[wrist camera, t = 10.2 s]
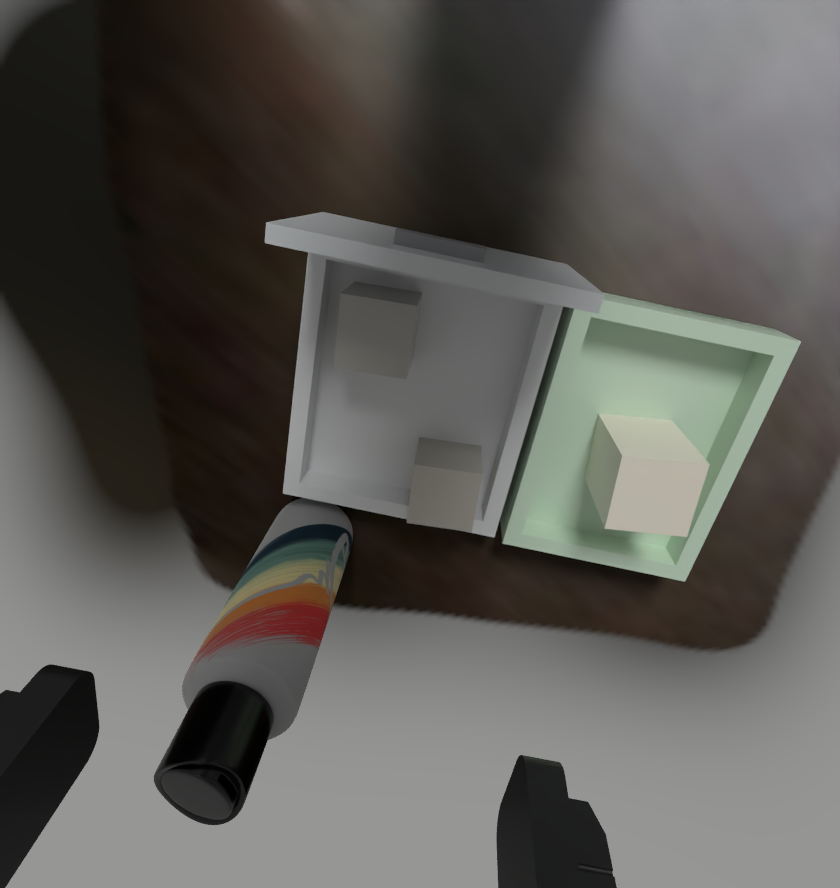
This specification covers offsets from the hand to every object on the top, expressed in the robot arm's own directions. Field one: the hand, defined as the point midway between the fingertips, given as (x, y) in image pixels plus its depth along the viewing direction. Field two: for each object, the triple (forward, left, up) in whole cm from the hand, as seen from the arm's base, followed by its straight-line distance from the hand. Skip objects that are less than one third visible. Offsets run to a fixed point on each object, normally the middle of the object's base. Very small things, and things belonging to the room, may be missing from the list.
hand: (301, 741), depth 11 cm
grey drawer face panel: (-7, 0, -27) cm, 28 cm away
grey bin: (+2, 0, -27) cm, 27 cm away
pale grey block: (+7, +3, -26) cm, 27 cm away
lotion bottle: (+14, -5, -27) cm, 31 cm away
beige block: (+3, +14, -26) cm, 30 cm away
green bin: (+2, +14, -27) cm, 30 cm away
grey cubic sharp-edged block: (-2, -2, -26) cm, 27 cm away
